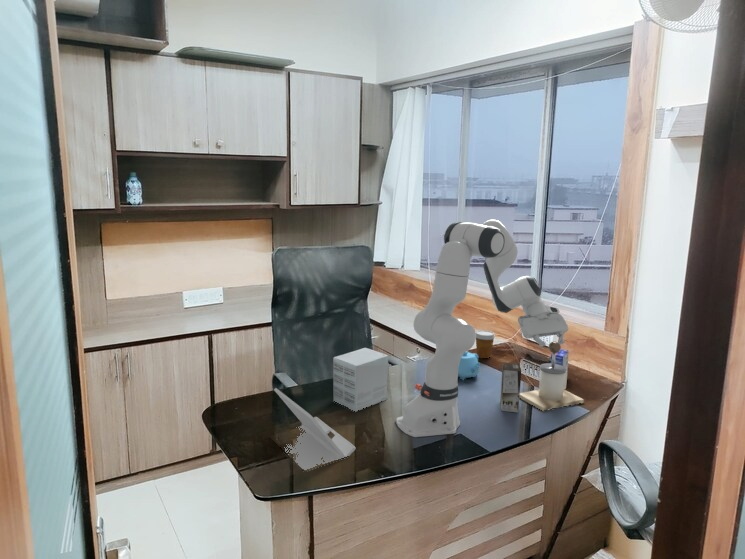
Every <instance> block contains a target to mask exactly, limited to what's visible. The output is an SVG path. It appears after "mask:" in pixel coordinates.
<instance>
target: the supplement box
mask: <svg viewBox="0 0 745 559" xmlns="http://www.w3.org/2000/svg"><path fill="white" fill-rule="evenodd" d="M332 359H333V360H332V362H333V363H332V364H333V369H332V370H333V373H332V374H333V377H332V378H333V402H334V401H335V402H337V403H339V404H341V405H344V406H346V407H348V408H349V409H351V410H350V411H352V410H353V411H352V412H354V411H355V412H354V413H357V412H359V411H361V410H364V409H366V407H367V408H369V407H371V405H372V406H374V405H376V404H379V403H382V402H384V401H387V400H388V398H389V397H388V391H389V388H388V386H389V385H388V384H389V383H388V382H389V355H388V354H386V353H383V352H380V351H376V350H373V349H371V348H367V347H363V348H360V349H357V350H354V351H350V352H347V353H344V354H340V355H337V356H334V357H333V358H332ZM381 401H382V402H381ZM335 402H334V403H335ZM337 403H336V404H337ZM339 404H338V405H339ZM341 405H340V406H341ZM363 408H364V409H363ZM349 409H348V410H349ZM358 410H359V411H358Z"/></svg>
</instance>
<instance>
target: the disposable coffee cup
mask: <svg viewBox="0 0 745 559" xmlns="http://www.w3.org/2000/svg"><path fill="white" fill-rule="evenodd" d="M475 333H476V339H475V344H476V354H477V355H478V358H479V357H480V358H479V359H482V358H488V359H490V358H491V356H492V355H491V354H492V350H493V346H494V345H493V344H494V339H495V337H496V335H495V332H493V331H491V330H484V329H483V330H482V329H481V330H477V331H475ZM489 357H490V358H489Z"/></svg>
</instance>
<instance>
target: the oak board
mask: <svg viewBox="0 0 745 559" xmlns="http://www.w3.org/2000/svg"><path fill="white" fill-rule="evenodd" d="M538 394H539V389H535V390H534V389H533V390H529V391H524V392H520V395H519V399H520V398H521V399H520V400H522V401H524V402H526V403H528V404H529V405H531V406H532V405H533V407H534V406H535V407H534V408H536V409H537V408H538V410H539V409H540V410H539V411H541V410H542V411H541V412H545V411H544V410H547V411H549V410H548V409H552V408H557V409H559V408H558V407H562V406H567V407H569V406H568V405H571V406H575V405H574V404H576V405H580V404H579V403H581V404H584V399H583V398H582V397H580V396H578V395H575V394H574V393H572V392H570V391H568V390H567V389H564V390H563V399H562V400H560V401H548V400H545V399H542V398H540V397H539V395H538ZM562 408H563V407H562ZM552 410H553V409H552Z"/></svg>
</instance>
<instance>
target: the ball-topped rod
mask: <svg viewBox="0 0 745 559" xmlns="http://www.w3.org/2000/svg"><path fill="white" fill-rule="evenodd" d="M560 349H562V347H561V344H559V343H558V341H551V342H549V345H548V350H549V351H550V353H551V354H552V353H553V354H552V365H551V367H552V368H555V358H556V353H558V352H559V351H560Z"/></svg>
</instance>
